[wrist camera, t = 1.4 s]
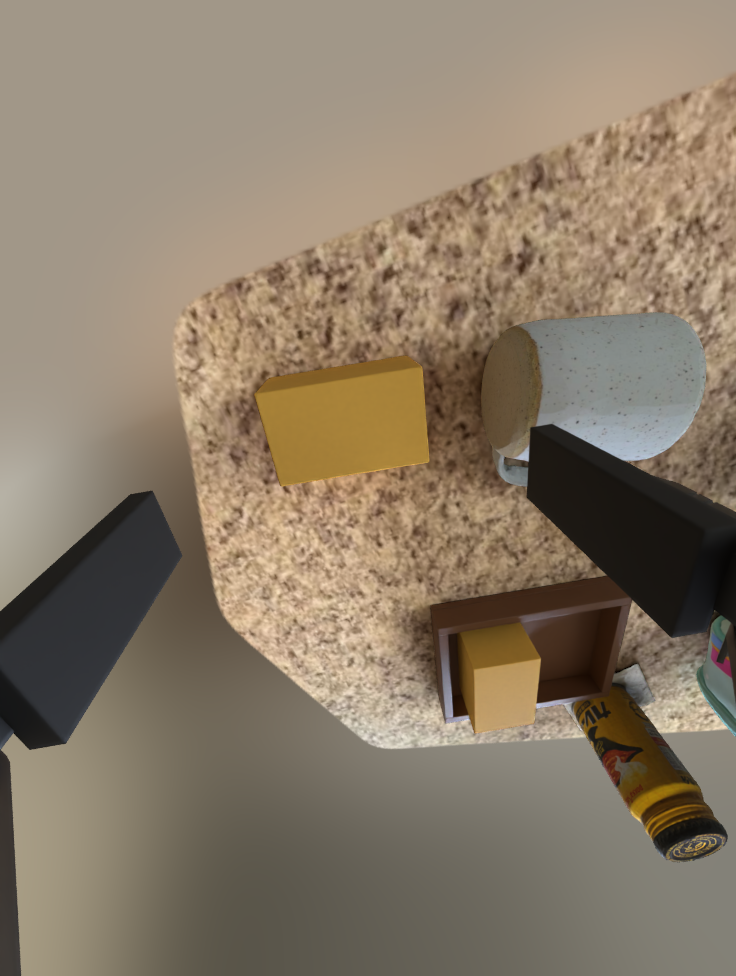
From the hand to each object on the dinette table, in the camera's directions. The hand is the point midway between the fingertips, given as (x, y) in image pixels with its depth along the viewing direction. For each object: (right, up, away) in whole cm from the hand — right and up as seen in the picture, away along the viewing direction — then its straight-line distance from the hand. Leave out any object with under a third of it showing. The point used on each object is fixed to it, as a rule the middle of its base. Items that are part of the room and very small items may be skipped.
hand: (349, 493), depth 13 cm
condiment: (+26, -22, +26) cm, 43 cm away
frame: (+15, -14, +21) cm, 29 cm away
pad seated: (+11, -15, +20) cm, 28 cm away
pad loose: (-1, +5, +10) cm, 11 cm away
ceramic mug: (+12, +6, +11) cm, 17 cm away
